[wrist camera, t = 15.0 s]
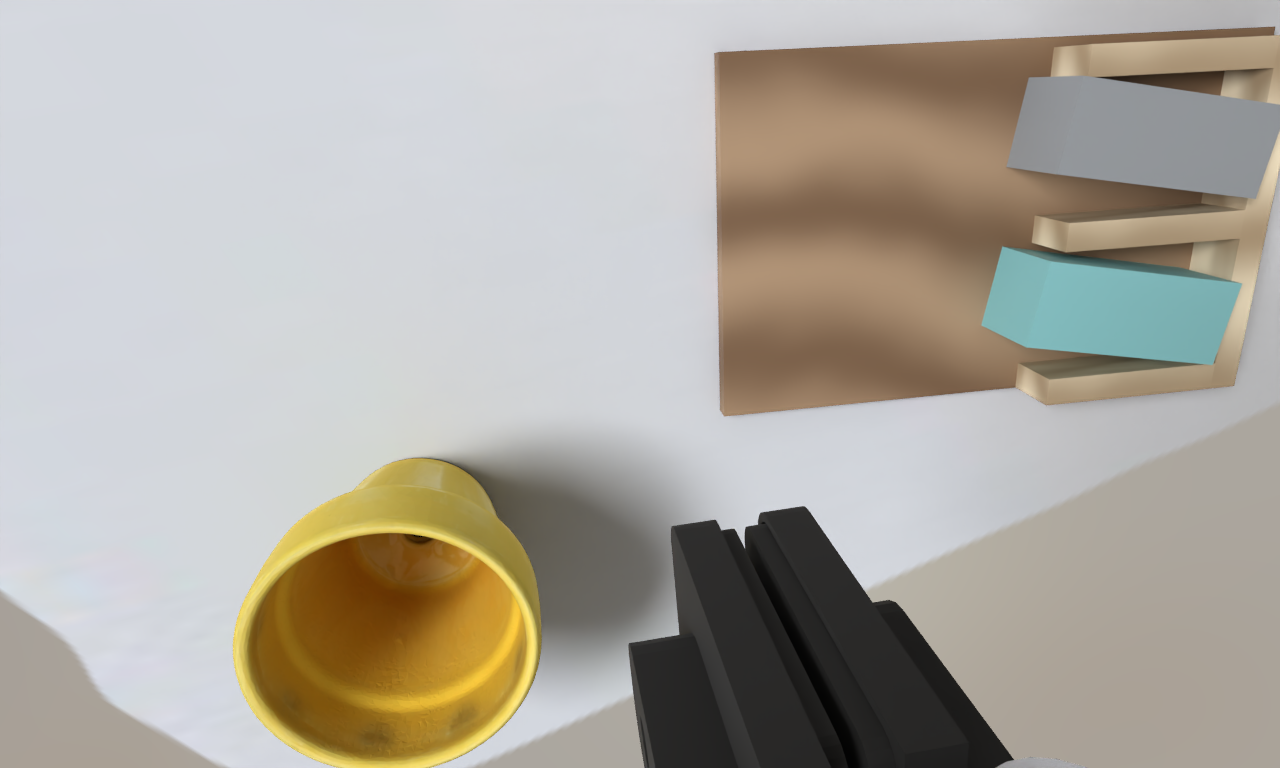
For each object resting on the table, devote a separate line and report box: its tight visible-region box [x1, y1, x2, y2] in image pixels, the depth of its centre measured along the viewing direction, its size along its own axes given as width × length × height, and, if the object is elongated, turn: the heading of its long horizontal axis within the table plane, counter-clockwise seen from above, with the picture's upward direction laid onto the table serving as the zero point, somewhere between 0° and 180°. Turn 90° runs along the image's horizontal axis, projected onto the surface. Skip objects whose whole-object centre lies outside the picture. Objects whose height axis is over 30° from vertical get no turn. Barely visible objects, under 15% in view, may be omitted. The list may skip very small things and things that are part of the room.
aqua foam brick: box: [981, 246, 1242, 365], centre depth 36 cm, size 4×9×4 cm, turn 82°
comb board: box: [714, 27, 1280, 416], centre depth 35 cm, size 15×24×3 cm, turn 93°
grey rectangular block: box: [1006, 76, 1280, 199], centre depth 34 cm, size 4×9×4 cm, turn 83°
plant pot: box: [233, 458, 542, 768], centre depth 33 cm, size 10×10×10 cm
